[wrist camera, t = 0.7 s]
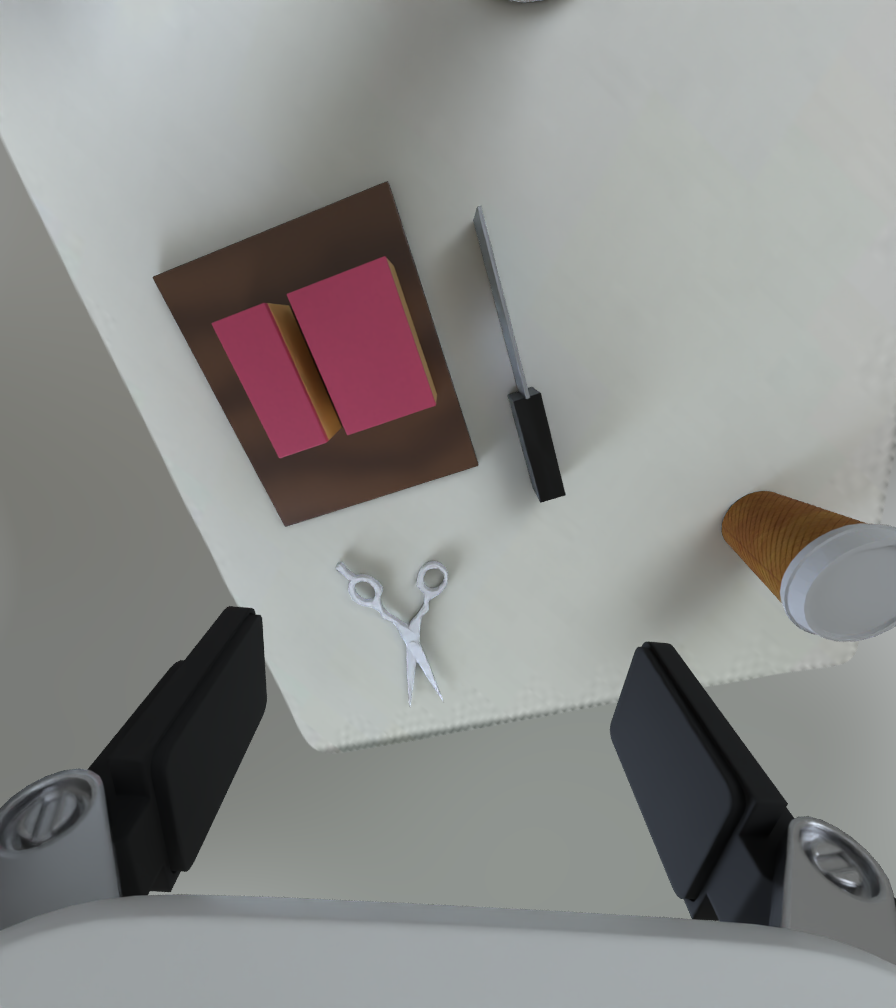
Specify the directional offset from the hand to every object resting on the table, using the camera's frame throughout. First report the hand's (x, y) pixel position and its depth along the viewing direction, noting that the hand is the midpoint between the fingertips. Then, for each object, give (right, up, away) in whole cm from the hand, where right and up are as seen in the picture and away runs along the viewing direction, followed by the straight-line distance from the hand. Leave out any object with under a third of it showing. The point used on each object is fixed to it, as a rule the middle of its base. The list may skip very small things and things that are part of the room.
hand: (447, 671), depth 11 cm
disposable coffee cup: (+30, +3, +31) cm, 43 cm away
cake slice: (-12, +14, +25) cm, 31 cm away
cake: (-6, +17, +24) cm, 29 cm away
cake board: (-10, +15, +25) cm, 31 cm away
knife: (+5, +16, +25) cm, 30 cm away
